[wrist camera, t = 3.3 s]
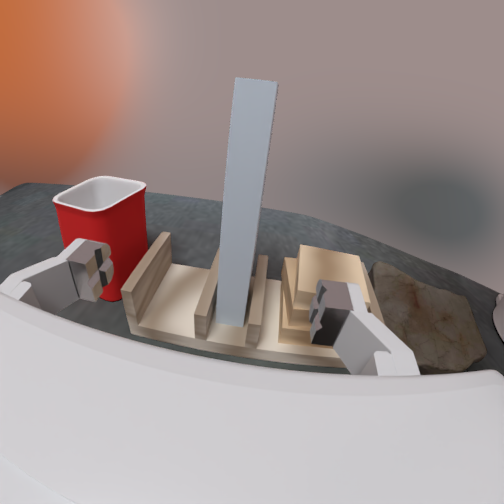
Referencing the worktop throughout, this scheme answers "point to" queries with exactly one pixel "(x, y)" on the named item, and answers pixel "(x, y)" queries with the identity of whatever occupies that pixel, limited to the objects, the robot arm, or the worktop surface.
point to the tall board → (243, 193)
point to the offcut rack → (214, 310)
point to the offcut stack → (312, 288)
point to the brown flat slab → (428, 321)
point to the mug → (107, 223)
